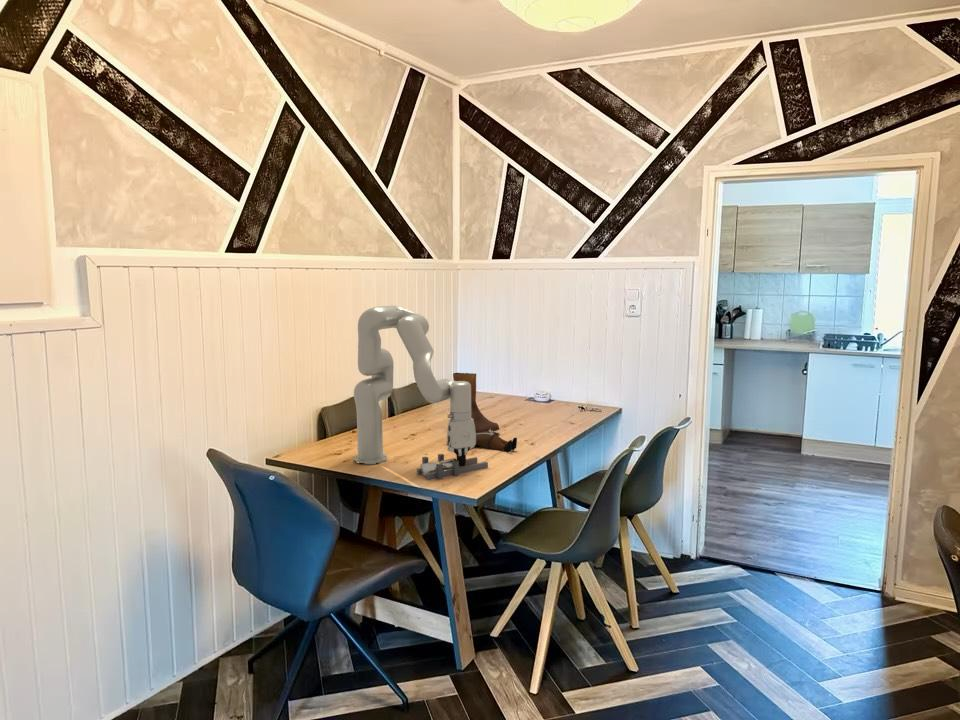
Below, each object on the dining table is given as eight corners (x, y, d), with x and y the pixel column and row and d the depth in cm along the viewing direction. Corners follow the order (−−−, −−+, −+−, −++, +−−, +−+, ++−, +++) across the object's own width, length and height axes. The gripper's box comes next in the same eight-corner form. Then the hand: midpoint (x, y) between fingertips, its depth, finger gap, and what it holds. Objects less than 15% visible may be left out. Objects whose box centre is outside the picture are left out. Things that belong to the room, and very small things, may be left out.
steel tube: (426, 476, 219) (424, 463, 219) (420, 476, 223) (419, 463, 223) (459, 470, 226) (457, 457, 226) (453, 470, 229) (451, 457, 230)
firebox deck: (414, 475, 226) (414, 458, 225) (472, 463, 240) (472, 447, 239) (431, 484, 216) (430, 466, 215) (490, 471, 230) (490, 455, 229)
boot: (503, 434, 284) (503, 375, 280) (488, 437, 277) (488, 377, 274) (465, 424, 302) (465, 368, 298) (450, 427, 296) (450, 370, 292)
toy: (500, 447, 243) (435, 428, 257) (497, 470, 245) (433, 450, 259) (527, 432, 263) (466, 415, 277) (525, 453, 265) (464, 436, 279)
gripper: (448, 420, 220) (448, 471, 222) (483, 415, 228) (484, 464, 230) (437, 416, 226) (438, 466, 228) (472, 411, 234) (472, 459, 236)
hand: (461, 465), depth 229 cm, fingers closed
